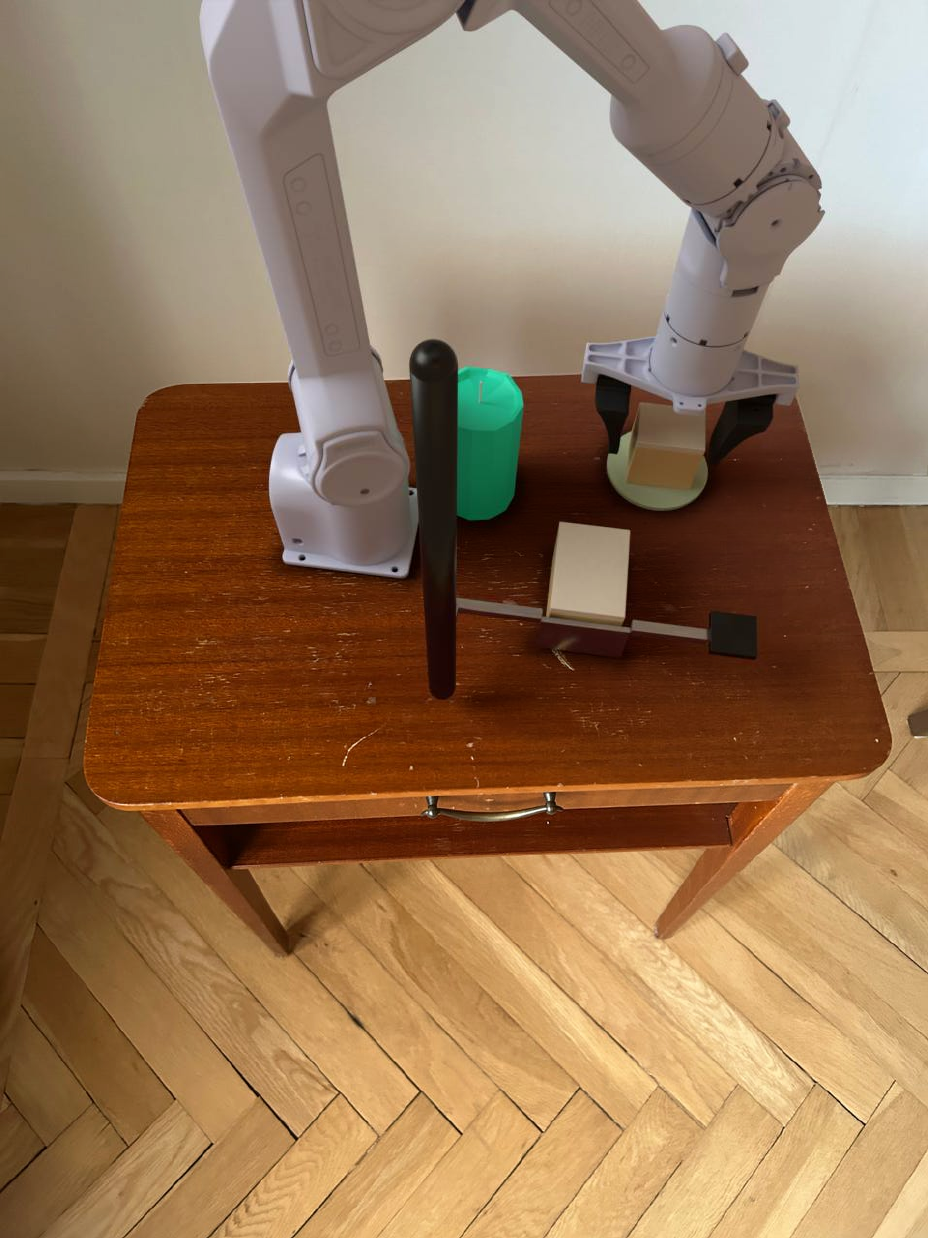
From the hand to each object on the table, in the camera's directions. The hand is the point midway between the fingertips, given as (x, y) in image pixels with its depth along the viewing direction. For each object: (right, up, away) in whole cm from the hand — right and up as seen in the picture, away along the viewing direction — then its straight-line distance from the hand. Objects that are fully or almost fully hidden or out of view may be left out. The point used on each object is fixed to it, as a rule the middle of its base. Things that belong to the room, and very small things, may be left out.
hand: (663, 449), depth 68 cm
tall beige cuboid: (-7, -12, -3) cm, 14 cm away
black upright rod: (-7, -17, -7) cm, 20 cm away
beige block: (0, -1, +2) cm, 2 cm away
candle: (-14, -3, +1) cm, 15 cm away
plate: (0, -1, +2) cm, 2 cm away
